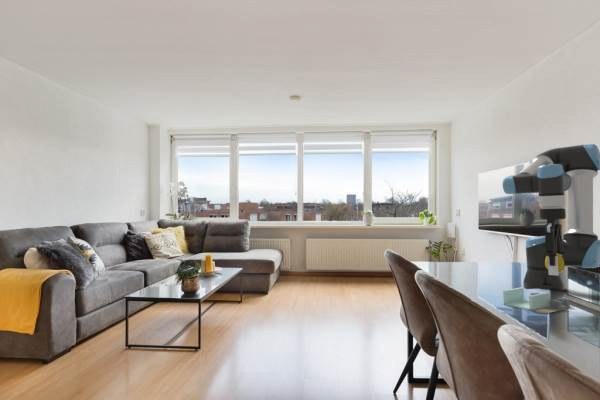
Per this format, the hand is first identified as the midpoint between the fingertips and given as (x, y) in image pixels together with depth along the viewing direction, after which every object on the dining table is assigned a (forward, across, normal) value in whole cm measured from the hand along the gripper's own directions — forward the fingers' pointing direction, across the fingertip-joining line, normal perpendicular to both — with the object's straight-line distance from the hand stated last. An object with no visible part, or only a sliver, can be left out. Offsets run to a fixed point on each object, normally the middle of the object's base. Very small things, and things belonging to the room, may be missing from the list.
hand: (555, 273), depth 125 cm
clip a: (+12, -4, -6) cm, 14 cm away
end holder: (+12, +4, -8) cm, 15 cm away
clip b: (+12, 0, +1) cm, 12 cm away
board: (+13, +1, -5) cm, 14 cm away
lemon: (+1, 0, 0) cm, 1 cm away
